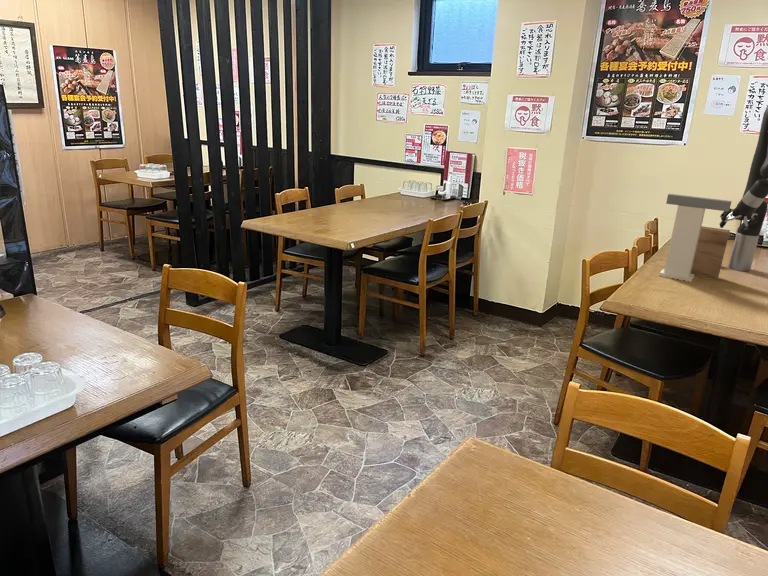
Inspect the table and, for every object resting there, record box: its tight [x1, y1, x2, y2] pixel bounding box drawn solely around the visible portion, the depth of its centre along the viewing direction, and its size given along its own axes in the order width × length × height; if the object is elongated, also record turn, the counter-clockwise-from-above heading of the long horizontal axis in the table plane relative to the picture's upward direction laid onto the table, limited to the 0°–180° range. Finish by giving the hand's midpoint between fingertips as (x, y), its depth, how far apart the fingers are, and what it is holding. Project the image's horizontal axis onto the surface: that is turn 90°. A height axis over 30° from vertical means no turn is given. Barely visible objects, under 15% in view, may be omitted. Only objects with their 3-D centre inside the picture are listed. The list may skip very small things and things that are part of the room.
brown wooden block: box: [691, 225, 731, 281], centre depth 255 cm, size 6×18×22 cm, turn 55°
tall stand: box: [659, 205, 706, 283], centre depth 249 cm, size 9×13×32 cm
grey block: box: [665, 193, 733, 212], centre depth 242 cm, size 4×24×4 cm, turn 55°
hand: (729, 228), depth 261 cm, fingers open, 8 cm apart
